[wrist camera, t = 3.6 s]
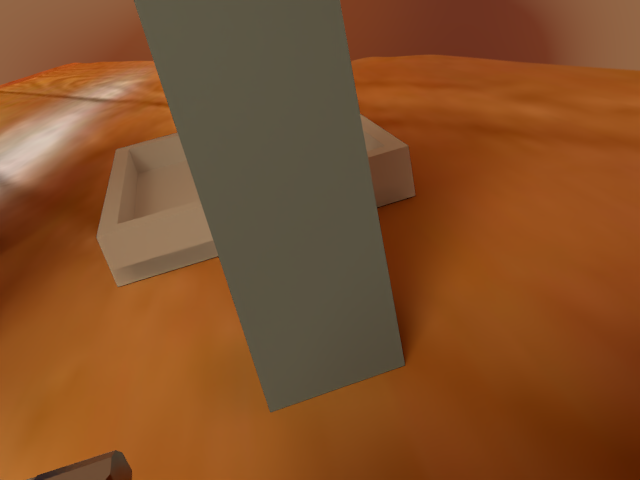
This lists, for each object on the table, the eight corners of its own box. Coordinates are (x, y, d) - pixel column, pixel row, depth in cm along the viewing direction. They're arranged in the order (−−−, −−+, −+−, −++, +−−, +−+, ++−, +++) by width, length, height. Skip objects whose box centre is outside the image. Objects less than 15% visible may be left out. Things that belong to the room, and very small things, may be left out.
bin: (117, 287, 31) (96, 237, 29) (130, 185, 46) (116, 149, 44) (415, 195, 33) (408, 145, 32) (333, 127, 48) (326, 91, 46)
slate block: (270, 412, 20) (125, -27, 14) (249, 333, 24) (132, -26, 18) (405, 365, 21) (326, -73, 14) (361, 296, 25) (286, -61, 19)
